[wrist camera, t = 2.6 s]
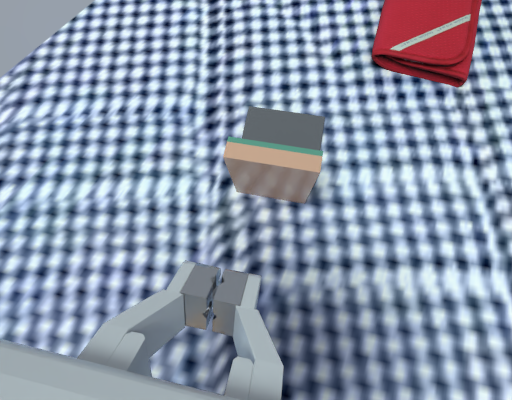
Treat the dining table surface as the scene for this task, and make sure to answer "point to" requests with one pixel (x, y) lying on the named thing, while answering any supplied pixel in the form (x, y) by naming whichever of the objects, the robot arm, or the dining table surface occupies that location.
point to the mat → (284, 128)
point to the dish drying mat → (427, 38)
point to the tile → (272, 169)
